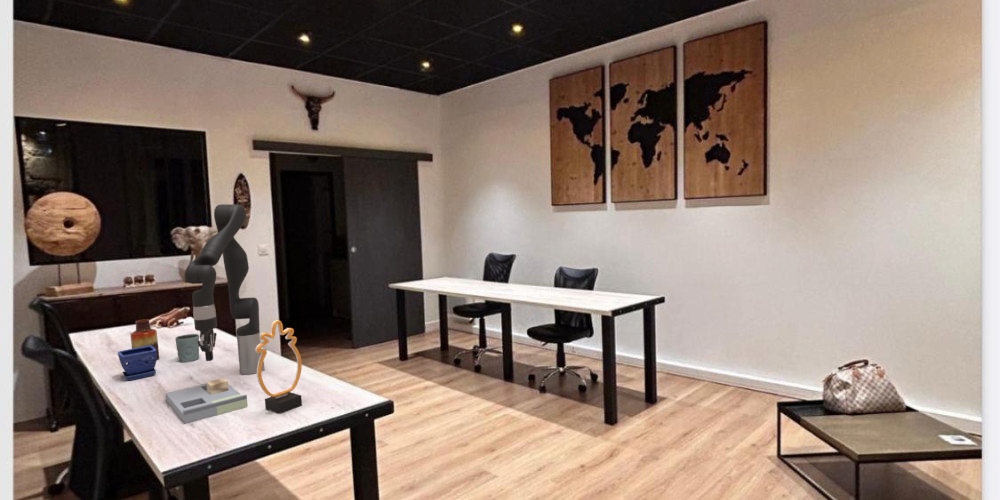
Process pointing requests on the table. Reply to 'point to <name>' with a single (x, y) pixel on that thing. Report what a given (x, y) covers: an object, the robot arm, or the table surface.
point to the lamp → (285, 398)
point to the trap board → (204, 402)
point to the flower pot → (138, 368)
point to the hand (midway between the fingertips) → (209, 360)
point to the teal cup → (187, 347)
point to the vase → (144, 336)
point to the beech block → (217, 386)
